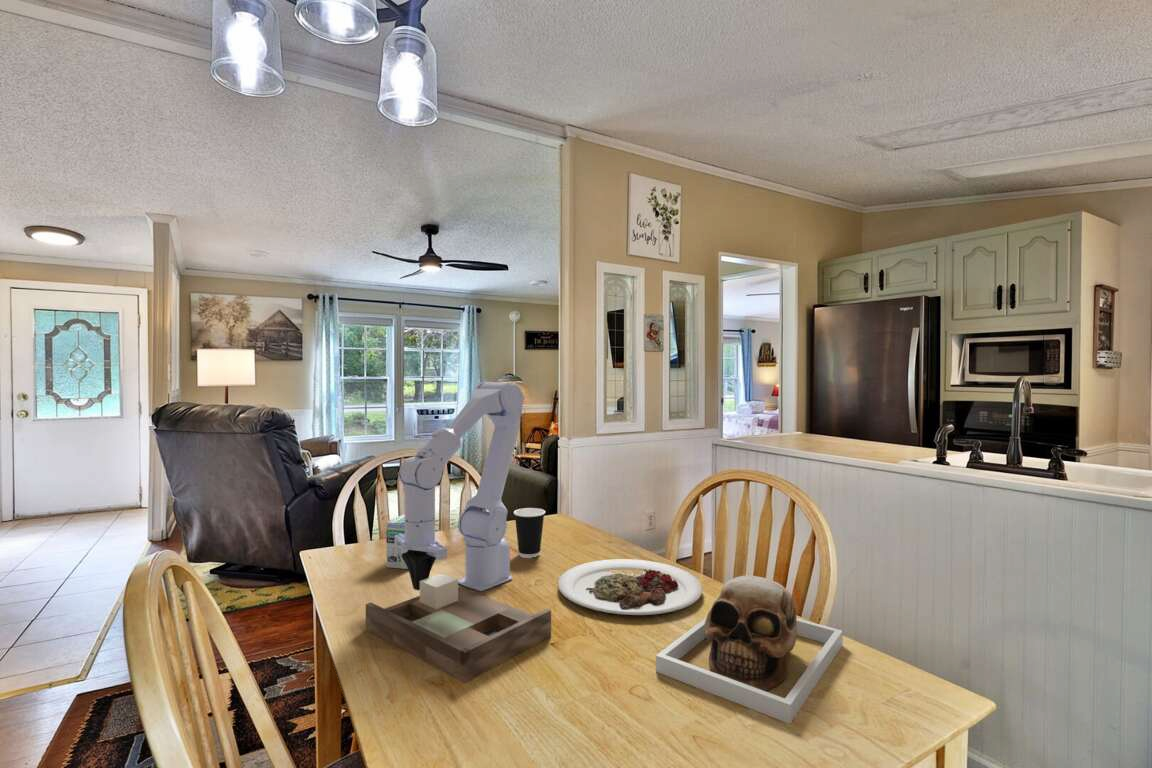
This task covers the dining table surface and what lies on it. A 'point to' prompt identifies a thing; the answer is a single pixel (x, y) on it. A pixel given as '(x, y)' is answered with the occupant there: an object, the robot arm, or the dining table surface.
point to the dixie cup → (529, 531)
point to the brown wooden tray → (459, 632)
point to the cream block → (438, 591)
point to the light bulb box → (394, 551)
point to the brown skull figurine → (752, 631)
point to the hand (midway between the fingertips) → (419, 588)
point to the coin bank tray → (744, 693)
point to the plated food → (630, 587)
